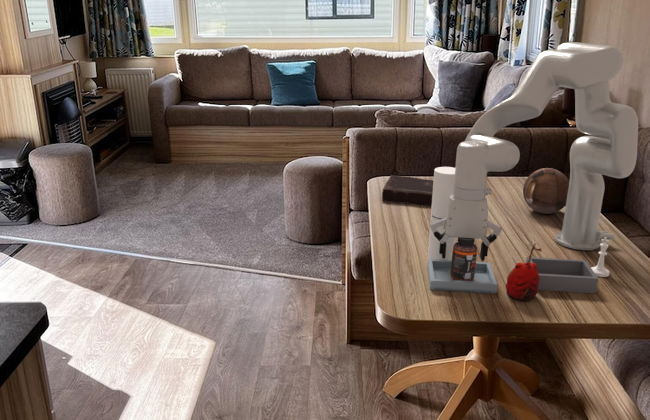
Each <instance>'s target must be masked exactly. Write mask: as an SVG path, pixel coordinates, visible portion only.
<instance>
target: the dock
mask: <svg viewBox="0 0 650 420" xmlns="http://www.w3.org/2000/svg"><path fill="white" fill-rule="evenodd" d="M528 260H529V257H527V256H526V258H525V263H527V261H528ZM530 263H535V264H536V265H537V270H538V273H539V278H540V280H539V286H538V291H548V292H549V291H551V292H565V293H567V292H568V293H583V294H597V289H598V284H599V276H596V274H595V273H594V271H593V270H592V269H591V266H590V264H589V263H588V262H587V260H585V259H567V258H549V257H531V259H530Z"/></svg>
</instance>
